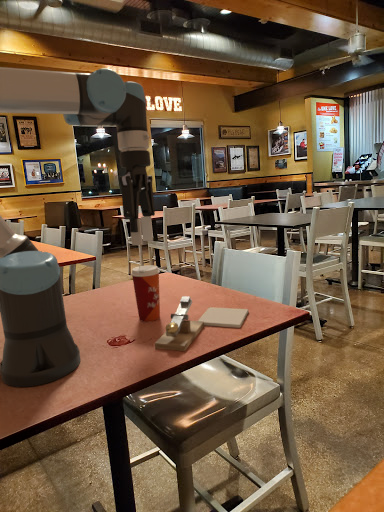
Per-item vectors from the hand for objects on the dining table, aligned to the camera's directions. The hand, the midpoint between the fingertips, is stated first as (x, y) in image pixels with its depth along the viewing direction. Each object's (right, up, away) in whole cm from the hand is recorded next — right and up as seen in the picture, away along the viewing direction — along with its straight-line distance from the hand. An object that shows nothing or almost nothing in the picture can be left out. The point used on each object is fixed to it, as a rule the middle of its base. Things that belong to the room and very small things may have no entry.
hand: (142, 242), depth 95 cm
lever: (+10, -18, -10) cm, 23 cm away
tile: (+21, -20, 0) cm, 29 cm away
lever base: (+10, -23, -10) cm, 26 cm away
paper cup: (+1, -21, +4) cm, 21 cm away
